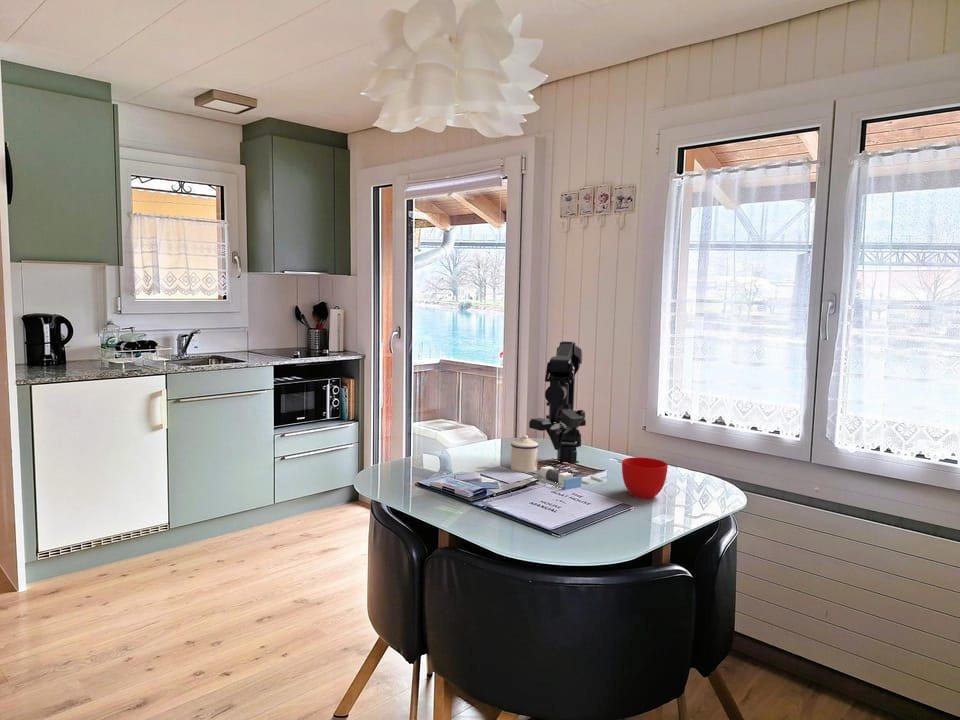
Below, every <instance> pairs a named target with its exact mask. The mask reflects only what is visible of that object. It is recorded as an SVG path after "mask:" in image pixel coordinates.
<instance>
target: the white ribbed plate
mask: <svg viewBox="0 0 960 720" xmlns="http://www.w3.org/2000/svg"><path fill="white" fill-rule="evenodd" d="M570 470H572V471H575V472H577V469H576V470H575V469H570ZM592 475H593V474H591V475H588V476H590V477H591V479H587V480H582V477H573V478H569V479H564V486H563V485H560V484H557V483H558V482H556V483H555V481H552V480H546V479H543V478H540V477H541V475H540V474H533V475H532V478H535V479H537V480H539V482H536V483H535V484H538V485H540V486H543V485H544V484H546V483H548V484H550V485H553V486H555V487H553V486H552V487H551V488H549V487H547V488H548V489H551V490H554V491H556V492H557V491H561V490H564V489H565V490H564V491H568V490H573V489H577V488H582V487H583V486H588V485H593V484H598V483H602V482H608V481H609V480H608V479H607V478H603V477H599V476H597V477H595V476H596V475H594V476H592ZM557 487H558V488H557ZM559 488H561V489H559ZM572 488H573V489H572Z"/></svg>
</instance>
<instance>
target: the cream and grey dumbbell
mask: <svg viewBox="0 0 960 720" xmlns="http://www.w3.org/2000/svg"><path fill="white" fill-rule="evenodd" d="M539 472H540V473H539V475H541V477H540V478H543V479H546V480H552V481H555V482H558V484H560V485H563V486H564V479H569V478H573V474H571V473H568V472H569V471H567V472H561V471H557V470H555V467H554V466H550V465H549V466H542V467H540V471H539Z"/></svg>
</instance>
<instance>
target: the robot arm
mask: <svg viewBox="0 0 960 720" xmlns="http://www.w3.org/2000/svg"><path fill="white" fill-rule="evenodd" d="M581 364H583V351H582V349H581V347H578V346H577V344H576V342H574V341H565V340H564V341H560V342H559V346H558V347H557V348H556V354H555V356H551V358H550V359H549V361H548V362H547V364H546V371H545V377H544V378H545V379H544V381H545V382H546V383H549V386H548V387H546V390H545V391H544V397H545V399H546V406H547V407H548V414H547V415H545V418H542V417H537V418H535V417H534V418H531V419H530V420H529V423H528V428H529V429H533V430H537V431H541V432H542V431H543V432H544V431H546V433H547V435H548V436H549V439H550V442H551V443H552V446H553V448H554V450H555V451H557V455H556V456H557V458H556V460H558V461H560V462H568V463H574V464H578V463H580V461H578V460H577V458H578V457H577V455H578V454H577V453H578V451H577V448H579V447H582V434H581V432H580V429H578V428H579V427H584V426H586V424H587V422H586V421H587V419H586V412H585V410H583V409H578V410H575V391H576V390H575V389H576V388H575V387H576V386H575V385H576V384H575V383H576V375H577V374H578V371H579V369H580V367H581Z"/></svg>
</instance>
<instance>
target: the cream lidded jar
mask: <svg viewBox="0 0 960 720" xmlns="http://www.w3.org/2000/svg"><path fill="white" fill-rule="evenodd" d="M510 446H511V453H510V454H511V457H510V459H511V460H510V470H512V471H513V470H515V471H514V472H517V471H518V472H517V473H534V472H536V471H537V470H538V453H539V451H538V450H539V443H538V442H537V441H534V440H533V439H531V438H529V436H528V435H527V434H523V435H521V437H520V438H518V439H517V440H514V441H511V443H510Z"/></svg>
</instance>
